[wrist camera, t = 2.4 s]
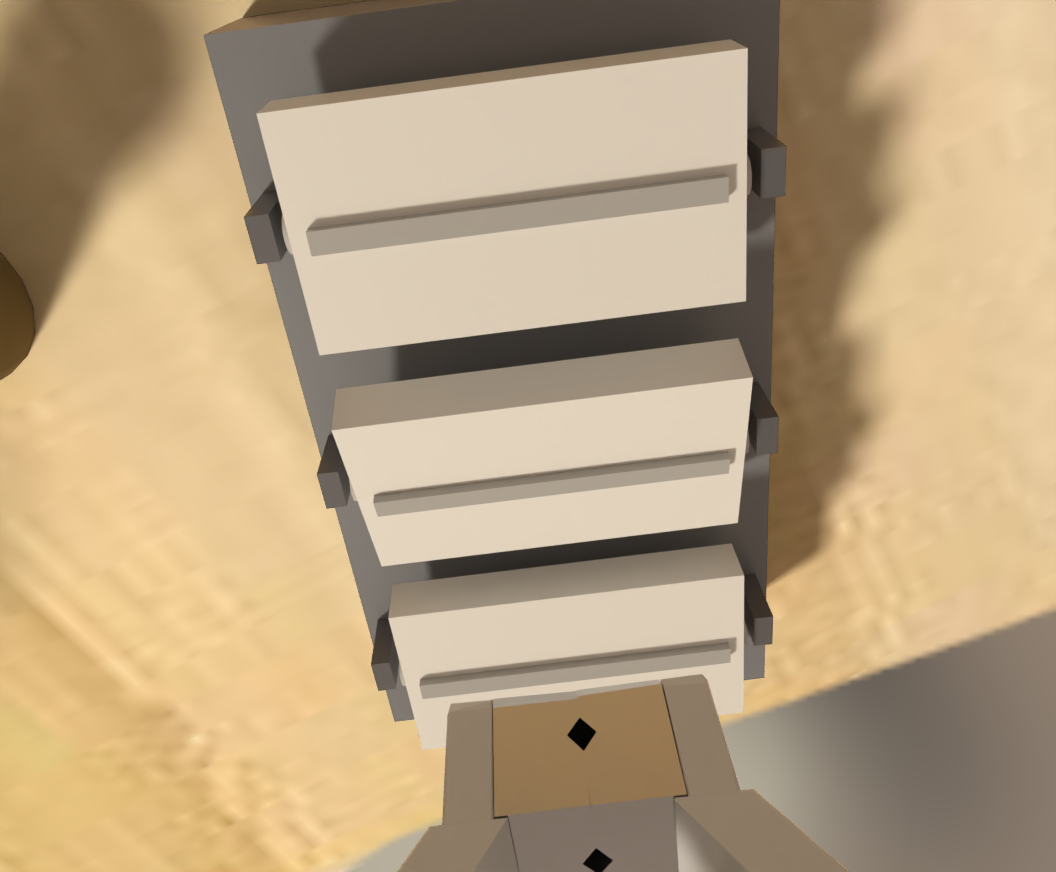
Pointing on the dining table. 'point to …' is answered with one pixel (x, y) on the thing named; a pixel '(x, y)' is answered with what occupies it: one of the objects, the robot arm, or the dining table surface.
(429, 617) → the grooved switch paddle
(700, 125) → the panel
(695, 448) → the rocker
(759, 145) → the switch unit
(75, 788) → the dining table surface
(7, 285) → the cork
